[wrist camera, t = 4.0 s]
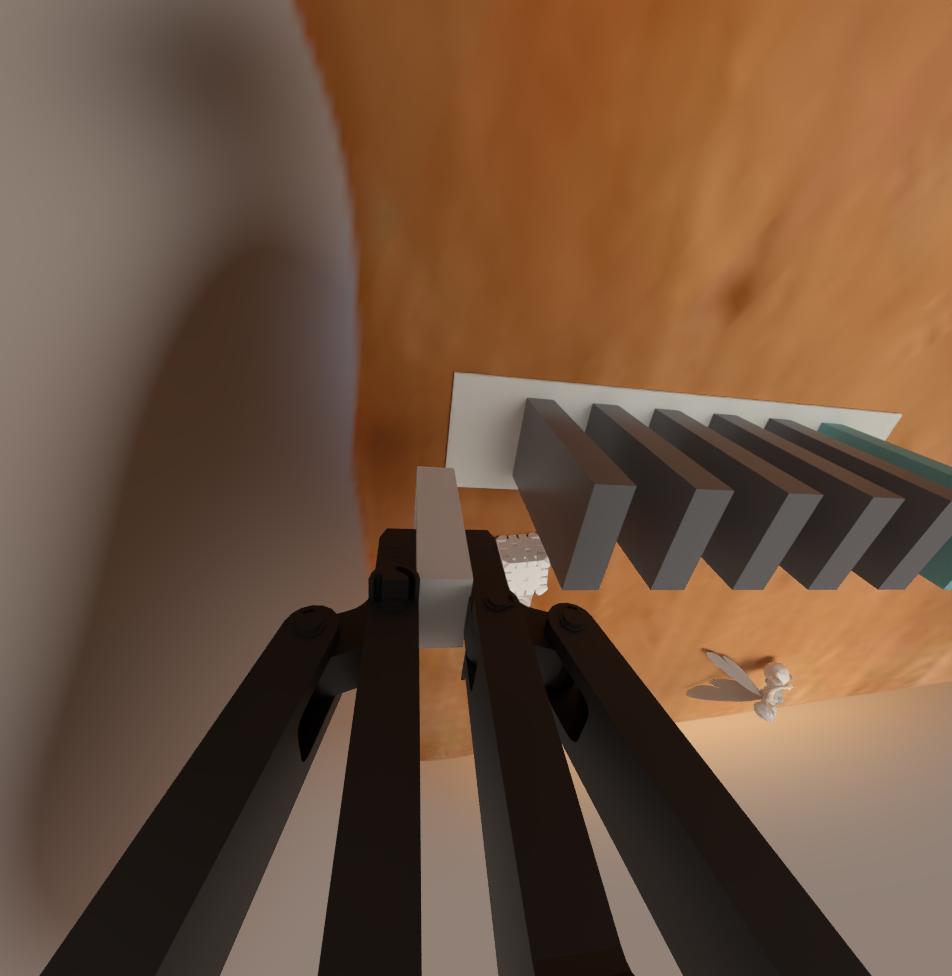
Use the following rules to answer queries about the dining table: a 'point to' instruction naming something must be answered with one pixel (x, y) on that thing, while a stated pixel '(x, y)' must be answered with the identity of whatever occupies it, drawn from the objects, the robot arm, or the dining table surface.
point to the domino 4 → (819, 505)
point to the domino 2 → (659, 498)
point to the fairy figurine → (745, 686)
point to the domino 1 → (570, 494)
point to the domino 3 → (742, 502)
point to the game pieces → (524, 565)
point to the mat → (501, 403)
